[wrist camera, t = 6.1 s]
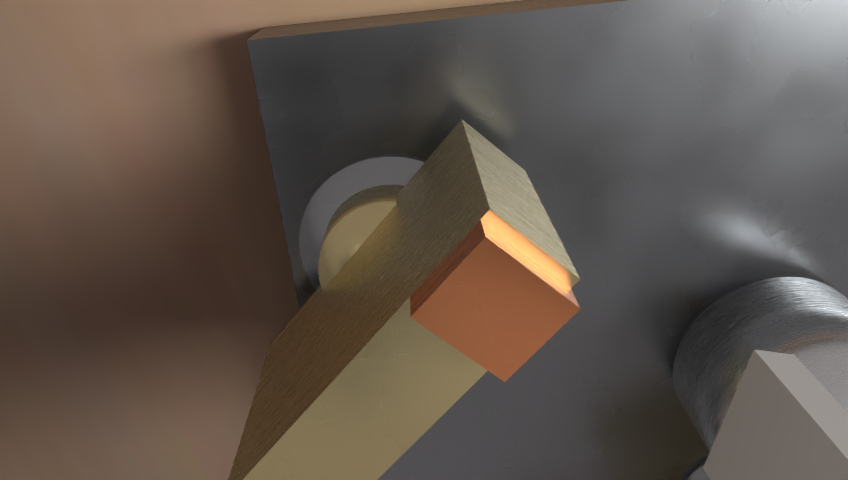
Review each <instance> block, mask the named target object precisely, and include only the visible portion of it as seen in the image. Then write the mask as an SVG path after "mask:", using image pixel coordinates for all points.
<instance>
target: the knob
mask: <svg viewBox="0 0 848 480" xmlns="http://www.w3.org/2000/svg"><path fill="white" fill-rule="evenodd" d="M318 274H319V281H320V284H321V285H320V286H319V287H318V289H317V290H316V291H315V292H314V293H313V295H312V296H311V297H310V298H309V299H308V300H307V302H306V303H305V304H304V305H303V306H302V307H301V309H300V310H299V311H298V312H297V313H296V315H295V316H294V317H293V318H292V319H291V320H290V322H289V323H288V324H287V325H286V326H285V327H284V329H283V330H282V331H281V332H280V333H279V335H278V336H277V337H276V338H275V339H274V340H273V342H272V343H271V345H270V348H269V351H268V355H267V358H266V361H265V364H264V367H263V371H262V374H261V377H260V380H259V383H258V386H257V390H256V393H255V396H254V399H253V402H252V406H251V409H250V412H249V415H248V418H247V422H246V425H245V428H244V431H243V434H242V437H241V441H240V444H239V447H238V450H237V453H236V457H235V460H234V463H233V466H232V469H231V472H230V476H229V479H228V480H377V479H378V478H379V477H380V476H382V475H383V474H384V473H385V472H386V471H387V470H388V469H389V468H390V467H391V466H392V465H393V464H394V463H395V462H396V461H397V460H398V459H399V458H400V457H401V456H402V455H403V454H404V453H405V452H406V451H407V450H408V449H409V448H410V447H411V446H412V445H413V444H414V443H415V442H416V441H417V440H418V439H419V438H420V437H421V436H422V435H423V434H424V433H425V432H426V431H427V430H428V429H429V428H430V427H431V426H432V425H433V424H434V423H435V422H436V421H437V420H438V419H439V418H440V417H441V416H442V415H443V414H444V413H445V412H446V411H447V410H448V409H449V408H450V407H451V406H452V405H453V404H454V403H456V402H457V401H458V400H459V399H460V398H461V397H462V396H463V395H464V394H465V393H466V392H467V391H468V390H469V389H470V388H471V387H472V386H473V385H474V384H475V383H476V382H477V381H478V380H479V379H480V378H481V377H482V376H483V375H484V374H485V373H486V372H487V371H489V372H491V373H492V374H494V375H495V376H497V377H498V378H499V379H501V380H502V381H504V382H506V381H507V380H508V379H509V378H510V377H511V376H512V375H513V374H514V373H515V372H516V371H517V370H518V369H519V368H520V367H521V366H522V365H523V364H524V363H525V362H526V361H527V360H528V359H529V358H530V357H531V356H532V355H533V354H534V353H536V352H537V351H538V350H539V349H540V348H541V347H542V346H543V345H544V344H545V343H546V342H547V341H548V340H549V339H550V338H551V337H552V336H553V335H554V334H555V333H556V332H557V331H558V330H559V329H560V328H561V327H562V326H563V325H564V324H565V323H567V322H568V321H569V320H570V319H571V318H572V317H573V316H574V315H575V314H576V313H577V312H578V311H579V310H580V307H579V305H578V302H577V300H576V298H575V296H574V294H573V292H572V290H571V288H572V287H573V286H574V285H575V284H576V283H577V282H578V281H579V280H580V278H579V276H578V274H577V272H576V270H575V268H574V266H573V264H572V262H571V260H570V258H569V256H568V254H567V252H566V250H565V248H564V246H563V244H562V242H561V240H560V238H559V236H558V234H557V232H556V230H555V228H554V227H553V225H552V223H551V221H550V219H549V217H548V215H547V213H546V211H545V209H544V207H543V205H542V203H541V201H540V199H539V197H538V195H537V193H536V191H535V189H534V187H533V185H532V183H531V181H530V179H529V177H528V176H527V174H526V172H525V170H524V169H522V168H521V167H520V166H519V165H517V164H516V163H515V162H514V161H513V160H511V159H510V158H509V157H508V156H506V155H505V154H504V153H503V152H502V151H500V150H499V149H498V148H497V147H495V146H494V145H493V144H492V143H491V142H489V141H488V140H487V139H486V138H484V137H483V136H482V135H481V134H479V133H478V132H477V131H476V130H475V129H473V128H472V127H471V126H470V125H468V124H467V123H466V122H465V121H464V120H462V119H461V120H460V122H459V123H458V124H457V125H456V126H455V127H454V129H453V130H452V131H451V132H450V133H449V135H448V136H447V137H446V138H445V139H444V140H443V142H442V143H441V144H440V145H439V146H438V147H437V149H436V150H435V151H434V152H433V153H432V155H431V156H430V157H429V158H428V159H427V160H426V162H425V163H424V164H423V165H422V166H421V167H420V169H419V170H418V171H417V172H416V173H415V175H414V176H413V177H412V178H411V179H410V180H409V182H408V183H407V184H406V185H405V186H403V185H393V184H392V185H380V186H374V187H371V188H367V189H364V190H362V191H360V192H358V193H356V194H354V195H353V196H351V197H349V198H348V199H347V200H346V201H345V202H343V203H342V204H341V205H340V206H339V208H338V209H337V210H336V211H335V213H334V214H333V215H332V217H331V219H330V221H329V223H328V226H327V229H326V232H325V236H324V240H323V244H322V248H321V252H320V256H319V262H318Z"/></svg>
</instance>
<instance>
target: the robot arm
mask: <svg viewBox="0 0 848 480" xmlns="http://www.w3.org/2000/svg"><path fill="white" fill-rule="evenodd" d="M703 469H704V470H705V472H706V474H707V476H708V477H709V479H710V480H848V412H847V411H846V410H845V408H844V407H843V406H842V405H841V404H840V403H839V402H838V401H837V400H836V399H835V398H834V397H833V396H832V395H831V394H830V392H829V391H828V390H827V389H826V388H825V387H824V386H823V385H822V384H821V383H820V382H819V381H818V380H817V379H816V378H815V377H814V375H813V374H812V373H811V372H810V371H809V370H808V369H807V368H806V367H805V366H804V365H803V364H802V363H801V362H800V361H799V359H798V358H797V357H796V356H795V355H794V354H786V353H778V352H770V351H762V350H753V353H752V355H751V357H750V360H749V362H748V364H747V367H746V369H745V371H744V374H743V376H742V378H741V381H740V383H739V385H738V388H737V390H736V392H735V395H734V397H733V399H732V402H731V404H730V406H729V409H728V411H727V413H726V416H725V418H724V420H723V423H722V425H721V427H720V430H719V432H718V434H717V437H716V439H715V441H714V444H713V446H712V448H711V451H710V453H709V455H708V458H707V460H706V462H705V465H704V467H703Z"/></svg>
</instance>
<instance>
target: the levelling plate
mask: <svg viewBox="0 0 848 480" xmlns="http://www.w3.org/2000/svg"><path fill="white" fill-rule="evenodd" d="M246 41H247V46H248V51H249V56H250V61H251V66H252V71H253V76H254V81H255V86H256V91H257V96H258V101H259V106H260V111H261V116H262V121H263V126H264V131H265V136H266V141H267V146H268V151H269V156H270V161H271V167H272V172H273V177H274V182H275V187H276V192H277V197H278V202H279V207H280V212H281V217H282V222H283V227H284V232H285V237H286V242H287V247H288V252H289V257H290V262H291V267H292V272H293V277H294V282H295V287H296V292H297V297H298V302H299V307H300V309H301V307H302V306H303V305H304V304H305V303H306V302H307V300H308V299H309V298H310V297H311V296H312V295H313V293H314V292H315V291H316V290H317V289H318V287H319V286H320V285H321V284H320V281H319V274H318V262H319V256H320V252H321V248H322V244H323V240H324V236H325V232H326V229H327V226H328V223H329V221H330V219H331V217H332V215H333V214H334V213H335V211H336V210H337V209H338V208H339V206H340V205H341V204H342V203H343V202H345V201H346V200H347V199H348V198H349V197H351V196H353V195H354V194H356V193H358V192H360V191H362V190H364V189H367V188H371V187H374V186H380V185H392V184H393V185H403V186H405V185H406V184H407V183H408V182H409V180H410V179H411V178H412V177H413V176H414V175H415V173H416V172H417V171H418V170H419V169H420V167H421V166H422V165H423V164H424V163H425V162H426V160H427V159H428V158H429V157H430V156H431V155H432V153H433V152H434V151H435V150H436V149H437V147H438V146H439V145H440V144H441V143H442V142H443V140H444V139H445V138H446V137H447V136H448V135H449V133H450V132H451V131H452V130H453V129H454V127H455V126H456V125H457V124H458V123H459V122H460V120H461V119H462V120H464V121H465V122H466V123H467V124H468V125H470V126H471V127H472V128H473V129H475V130H476V131H477V132H478V133H479V134H481V135H482V136H483V137H484V138H486V139H487V140H488V141H489V142H491V143H492V144H493V145H494V146H495V147H497V148H498V149H499V150H500V151H502V152H503V153H504V154H505V155H506V156H508V157H509V158H510V159H511V160H513V161H514V162H515V163H516V164H517V165H519V166H520V167H521V168H522V169H524V170H525V172H526V174H527V176H528V177H529V179H530V181H531V183H532V185H533V187H534V189H535V191H536V193H537V195H538V197H539V199H540V201H541V203H542V205H543V207H544V209H545V211H546V213H547V215H548V217H549V219H550V221H551V223H552V225H553V227H554V228H555V230H556V232H557V234H558V236H559V238H560V240H561V242H562V244H563V246H564V248H565V250H566V252H567V254H568V256H569V258H570V260H571V262H572V264H573V266H574V268H575V270H576V272H577V274H578V276H579V278H580V280H579V281H578V282H577V283H576V284H575V285H574V286H573V287H572V288H571V290H572V292H573V294H574V296H575V298H576V300H577V302H578V305H579V307H580V310H579V311H578V312H577V313H576V314H575V315H574V316H573V317H572V318H571V319H570V320H569V321H568V322H567V323H565V324H564V325H563V326H562V327H561V328H560V329H559V330H558V331H557V332H556V333H555V334H554V335H553V336H552V337H551V338H550V339H549V340H548V341H547V342H546V343H545V344H544V345H543V346H542V347H541V348H540V349H539V350H538V351H537V352H536V353H534V354H533V355H532V356H531V357H530V358H529V359H528V360H527V361H526V362H525V363H524V364H523V365H522V366H521V367H520V368H519V369H518V370H517V371H516V372H515V373H514V374H513V375H512V376H511V377H510V378H509V379H508V380H507V381H506V382H504V381H502V380H501V379H499V378H498V377H497V376H495V375H494V374H492V373H491V372H489V371H487V372H486V373H485V374H484V375H483V376H482V377H481V378H480V379H479V380H478V381H477V382H476V383H475V384H474V385H473V386H472V387H471V388H470V389H469V390H468V391H467V392H466V393H465V394H464V395H463V396H462V397H461V398H460V399H459V400H458V401H457V402H456V403H454V404H453V405H452V406H451V407H450V408H449V409H448V410H447V411H446V412H445V413H444V414H443V415H442V416H441V417H440V418H439V419H438V420H437V421H436V422H435V423H434V424H433V425H432V426H431V427H430V428H429V429H428V430H427V431H426V432H425V433H424V434H423V435H422V436H421V437H420V438H419V439H418V440H417V441H416V442H415V443H414V444H413V445H412V446H411V447H410V448H409V449H408V450H407V451H406V452H405V453H404V454H403V455H402V456H401V457H400V458H399V459H398V460H397V461H396V462H395V463H394V464H393V465H392V466H391V467H390V468H389V469H388V470H387V471H386V472H385V473H384V474H383V475H382V476H380V477H379V478H378V479H377V480H710V479H709V477H708V476H707V474H706V472H705V470H704V469H703V467H704V465H705V462H706V460H707V458H708V455H709V453H710V451H711V448H712V446H713V444H714V441H715V439H716V437H717V434H718V432H719V430H720V427H721V425H722V423H723V420H724V418H725V416H726V413H727V411H728V409H729V406H730V404H731V402H732V399H733V397H734V395H735V392H736V390H737V388H738V385H739V383H740V381H741V378H742V376H743V374H744V371H745V369H746V367H747V364H748V362H749V360H750V357H751V355H752V353H753V350H762V351H770V352H778V353H786V354H794V355H795V356H796V357H797V358H798V359H799V361H800V362H801V363H802V364H803V365H804V366H805V367H806V368H807V369H808V370H809V371H810V372H811V373H812V374H813V375H814V377H815V378H816V379H817V380H818V381H819V382H820V383H821V384H822V385H823V386H824V387H825V388H826V389H827V390H828V391H829V392H830V394H831V395H832V396H833V397H834V398H835V399H836V400H837V401H838V402H839V403H840V404H841V405H842V406H843V407H844V408H845V410H846V411H847V412H848V0H524V1H515V2H505V3H496V4H486V5H476V6H467V7H457V8H448V9H438V10H429V11H419V12H409V13H400V14H390V15H381V16H371V17H362V18H352V19H342V20H333V21H323V22H314V23H304V24H294V25H285V26H275V27H266V28H263V29H261V30H260V31H259V32H257V33H256V34H254V35H253V36H252V37H250V38H249V39H247V40H246Z"/></svg>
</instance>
